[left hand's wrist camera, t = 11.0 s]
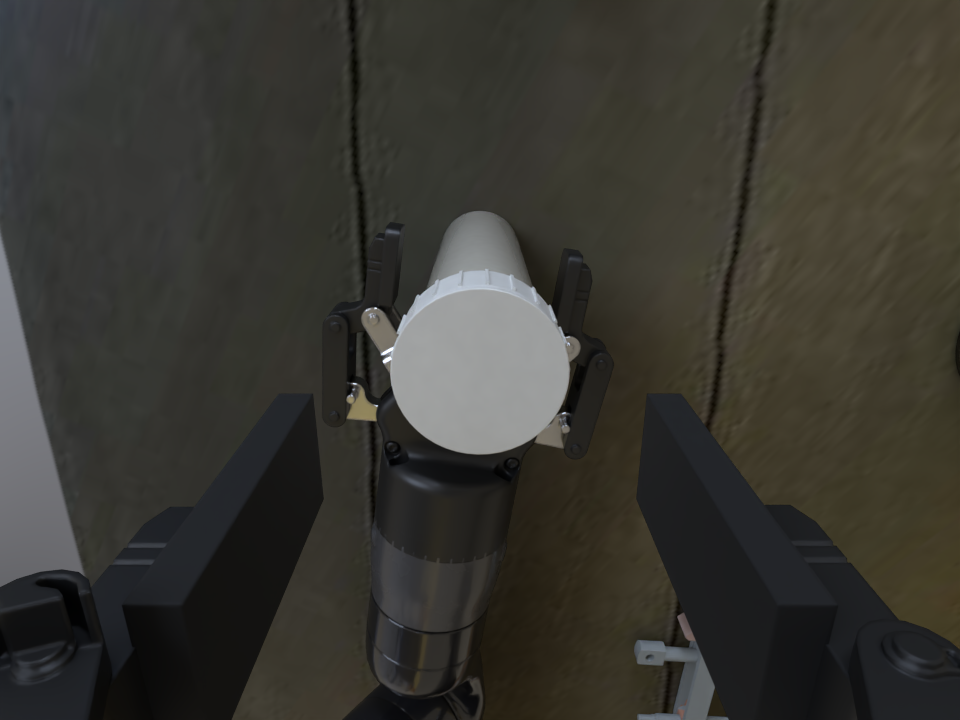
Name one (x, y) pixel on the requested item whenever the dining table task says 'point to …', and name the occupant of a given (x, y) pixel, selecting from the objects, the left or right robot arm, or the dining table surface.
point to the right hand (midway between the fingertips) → (485, 238)
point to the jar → (480, 248)
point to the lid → (480, 363)
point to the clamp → (694, 680)
